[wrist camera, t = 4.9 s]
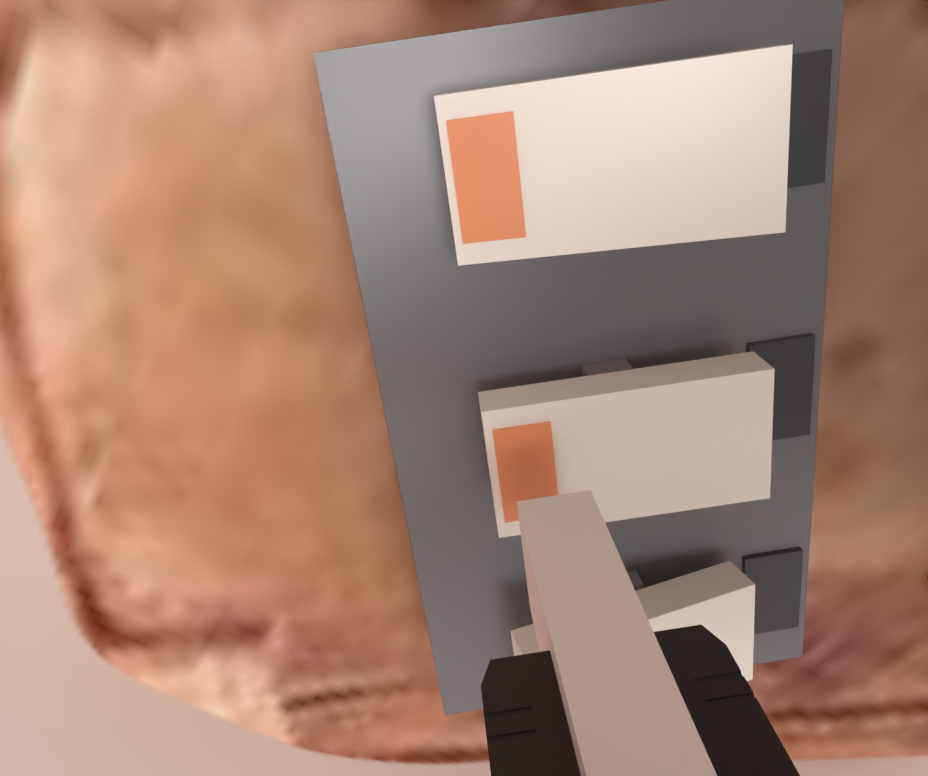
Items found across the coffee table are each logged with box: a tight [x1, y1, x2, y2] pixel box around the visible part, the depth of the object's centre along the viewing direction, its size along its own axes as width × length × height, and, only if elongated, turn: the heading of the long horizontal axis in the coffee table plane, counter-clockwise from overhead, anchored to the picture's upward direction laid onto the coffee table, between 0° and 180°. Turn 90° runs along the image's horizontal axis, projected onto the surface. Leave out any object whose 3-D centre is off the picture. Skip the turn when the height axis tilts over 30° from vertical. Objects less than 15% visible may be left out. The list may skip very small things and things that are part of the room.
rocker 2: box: [478, 351, 775, 538], centre depth 19 cm, size 7×4×2 cm, turn 98°
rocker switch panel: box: [313, 0, 844, 715], centre depth 22 cm, size 12×20×5 cm, turn 8°
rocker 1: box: [434, 44, 793, 266], centre depth 16 cm, size 7×4×2 cm, turn 98°
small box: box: [511, 561, 755, 681], centre depth 21 cm, size 7×4×2 cm, turn 98°
